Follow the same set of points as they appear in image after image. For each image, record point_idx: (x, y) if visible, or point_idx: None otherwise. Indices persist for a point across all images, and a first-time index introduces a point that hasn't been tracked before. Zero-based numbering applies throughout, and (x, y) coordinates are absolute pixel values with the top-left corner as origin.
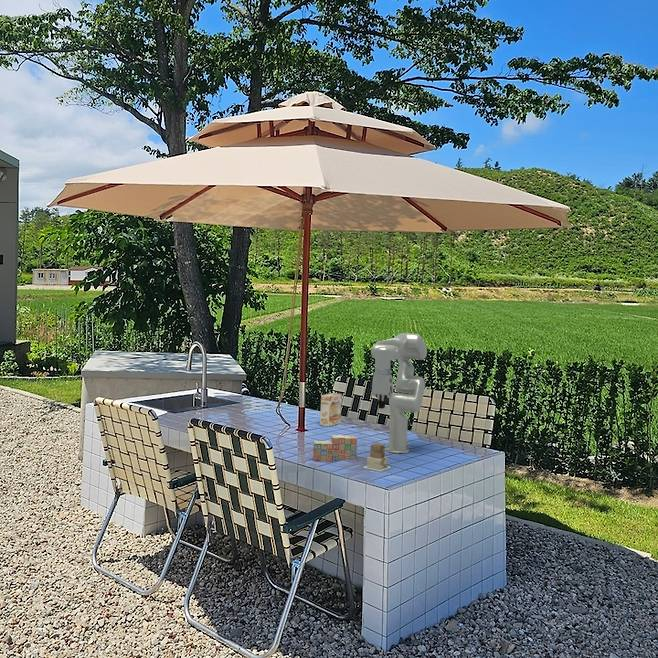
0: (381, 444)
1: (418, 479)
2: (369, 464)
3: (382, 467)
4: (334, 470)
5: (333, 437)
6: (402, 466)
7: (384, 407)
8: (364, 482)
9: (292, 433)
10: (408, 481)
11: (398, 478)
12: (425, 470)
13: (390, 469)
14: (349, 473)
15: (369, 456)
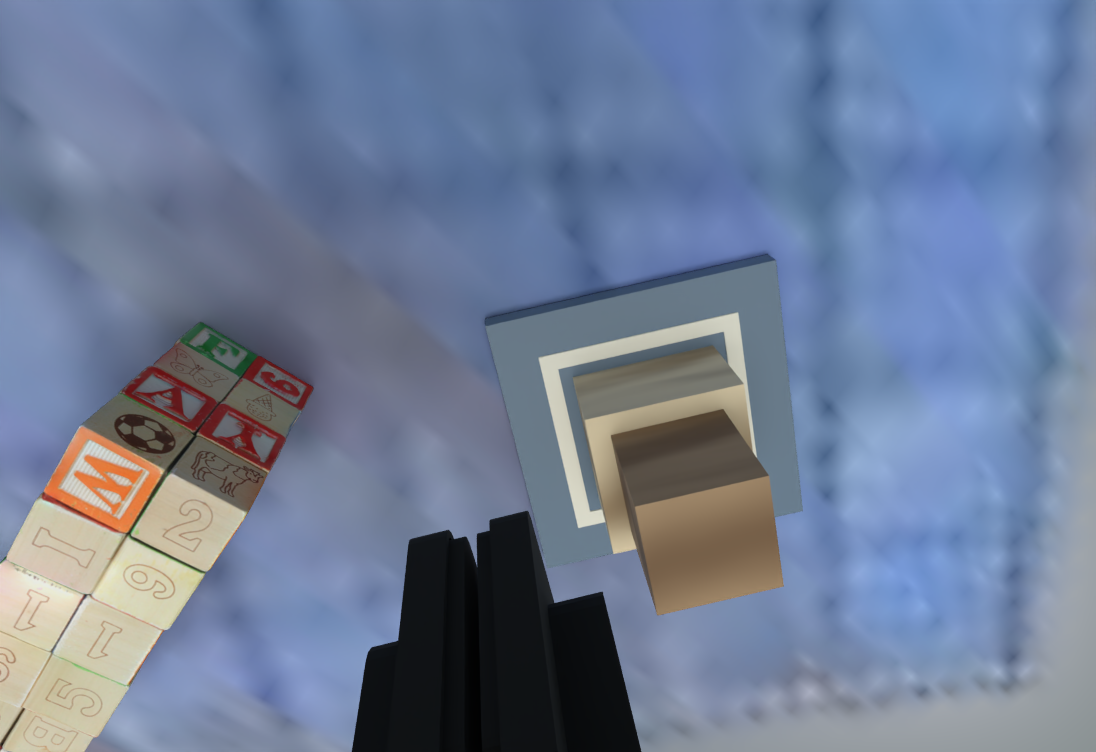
0: (726, 500)
1: (1090, 328)
2: None
3: None
4: None
5: (79, 726)
6: (721, 99)
7: (529, 520)
8: (830, 707)
9: None
10: (1055, 441)
11: (947, 447)
12: (985, 6)
13: (786, 373)
14: None
15: (606, 520)
